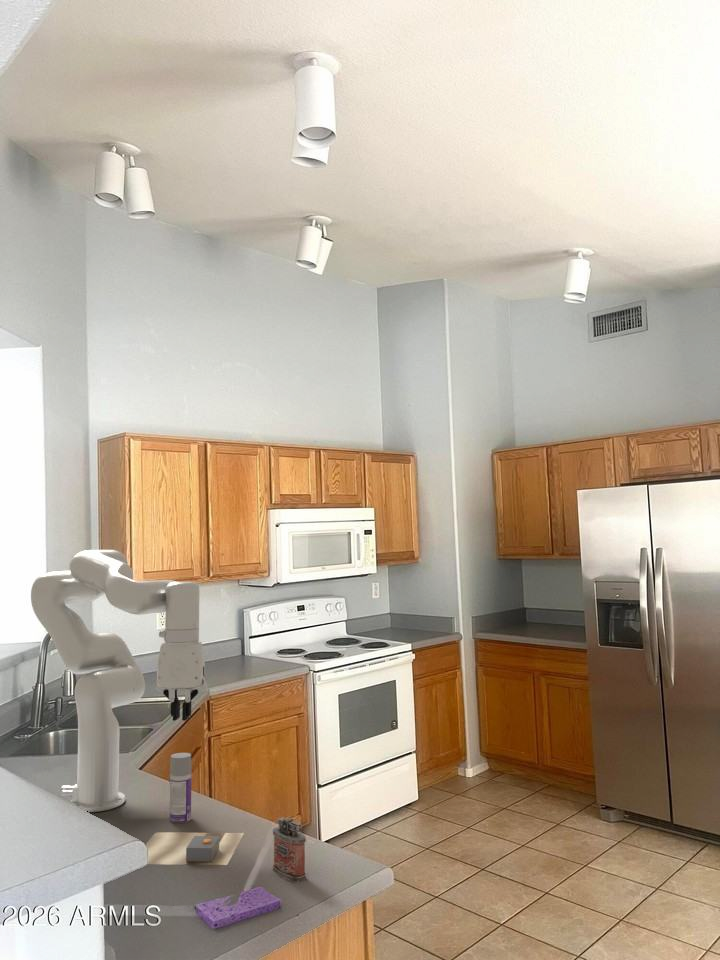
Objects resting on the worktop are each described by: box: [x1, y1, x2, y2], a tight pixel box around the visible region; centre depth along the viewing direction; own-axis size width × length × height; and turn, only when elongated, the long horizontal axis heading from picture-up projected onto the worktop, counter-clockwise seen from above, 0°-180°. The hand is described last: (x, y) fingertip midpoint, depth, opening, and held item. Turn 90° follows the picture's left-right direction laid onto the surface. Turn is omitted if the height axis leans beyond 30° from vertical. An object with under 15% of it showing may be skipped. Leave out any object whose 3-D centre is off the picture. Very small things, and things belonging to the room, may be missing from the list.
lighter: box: [272, 817, 307, 883], centre depth 141 cm, size 8×3×10 cm, turn 44°
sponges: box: [195, 886, 282, 930], centre depth 127 cm, size 7×13×2 cm, turn 126°
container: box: [169, 752, 192, 824], centre depth 168 cm, size 5×5×15 cm
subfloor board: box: [145, 831, 245, 866], centre depth 151 cm, size 19×16×1 cm
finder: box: [186, 836, 219, 862], centre depth 147 cm, size 5×6×3 cm
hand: (181, 718), depth 169 cm, fingers closed
